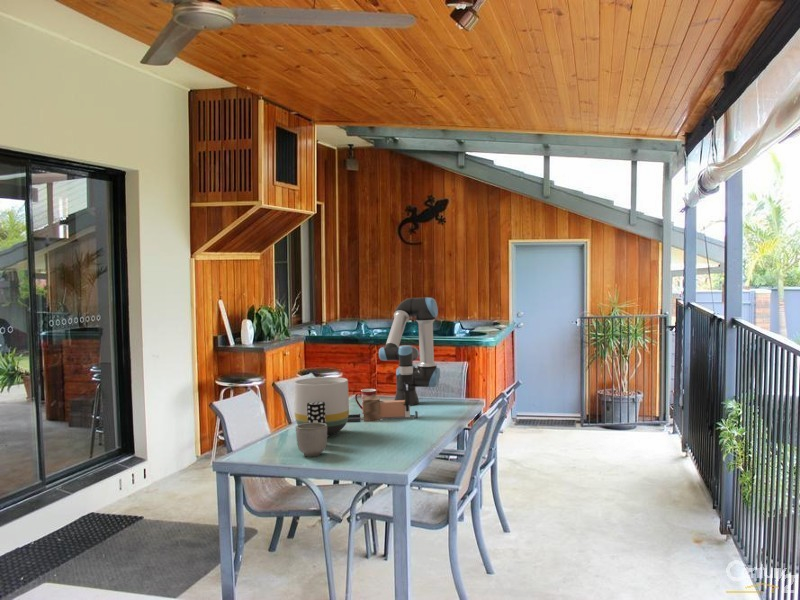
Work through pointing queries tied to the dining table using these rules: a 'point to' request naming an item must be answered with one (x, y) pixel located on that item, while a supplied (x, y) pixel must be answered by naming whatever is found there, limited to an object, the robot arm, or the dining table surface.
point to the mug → (365, 395)
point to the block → (392, 408)
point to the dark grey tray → (354, 418)
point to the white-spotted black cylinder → (316, 412)
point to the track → (398, 417)
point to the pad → (397, 419)
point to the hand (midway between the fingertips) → (407, 415)
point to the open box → (371, 408)
